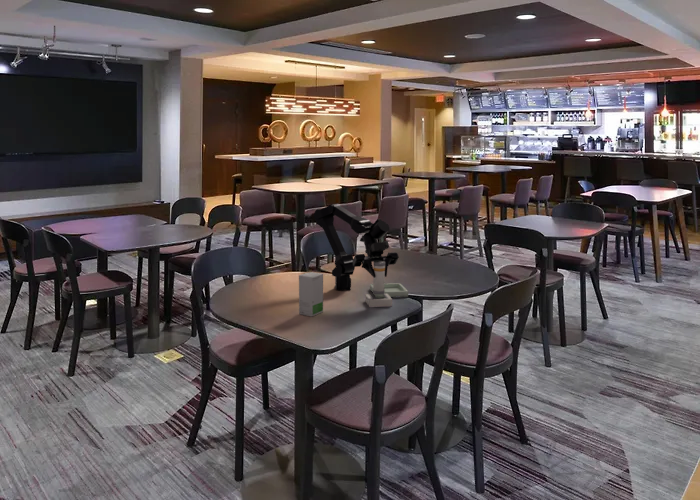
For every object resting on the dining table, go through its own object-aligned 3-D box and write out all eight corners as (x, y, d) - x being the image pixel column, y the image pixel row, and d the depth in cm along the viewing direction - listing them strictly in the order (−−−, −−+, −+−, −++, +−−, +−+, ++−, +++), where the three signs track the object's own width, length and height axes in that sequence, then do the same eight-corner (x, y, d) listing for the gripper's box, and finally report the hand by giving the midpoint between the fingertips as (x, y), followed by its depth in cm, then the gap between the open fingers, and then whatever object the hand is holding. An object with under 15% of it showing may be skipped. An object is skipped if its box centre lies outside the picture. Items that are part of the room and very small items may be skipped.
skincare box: (311, 317, 221) (311, 277, 218) (297, 314, 225) (297, 275, 222) (324, 311, 228) (324, 273, 225) (310, 308, 232) (310, 271, 229)
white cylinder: (374, 294, 236) (375, 263, 234) (371, 291, 241) (372, 260, 238) (385, 294, 237) (386, 263, 235) (383, 291, 242) (383, 260, 239)
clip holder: (369, 307, 235) (369, 300, 234) (365, 301, 243) (365, 294, 243) (392, 306, 237) (392, 299, 236) (387, 300, 245) (387, 293, 244)
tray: (376, 298, 248) (376, 292, 247) (369, 289, 261) (369, 284, 261) (408, 296, 250) (408, 291, 250) (399, 288, 264) (400, 283, 263)
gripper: (355, 235, 235) (363, 267, 227) (397, 233, 241) (407, 264, 233) (348, 250, 244) (356, 282, 236) (390, 248, 250) (399, 279, 242)
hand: (380, 276), depth 236 cm, fingers closed on white cylinder, 5 cm apart
